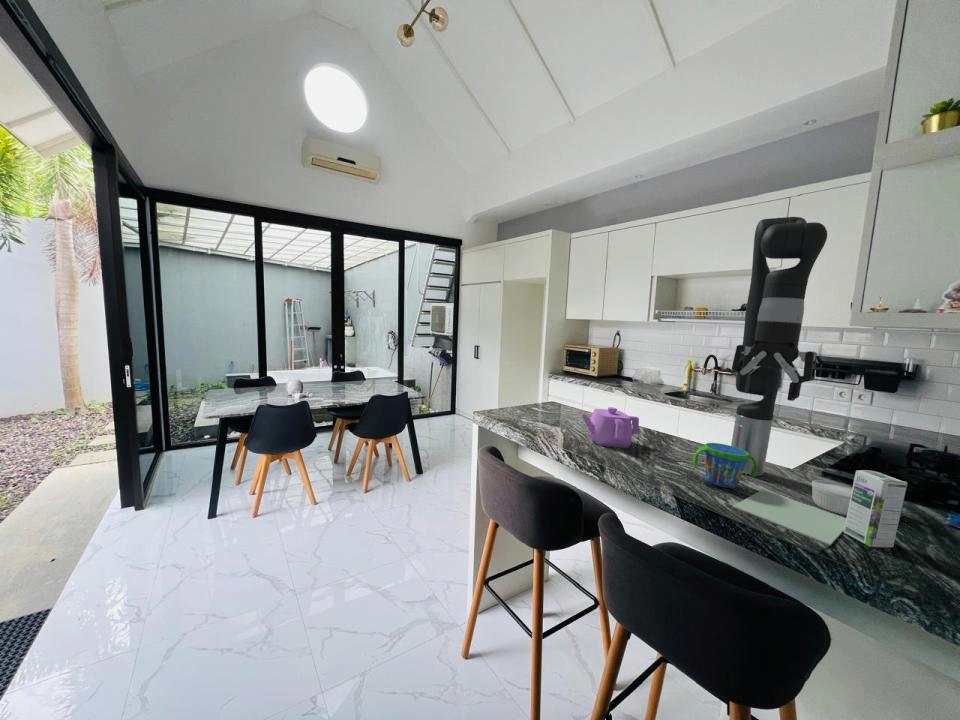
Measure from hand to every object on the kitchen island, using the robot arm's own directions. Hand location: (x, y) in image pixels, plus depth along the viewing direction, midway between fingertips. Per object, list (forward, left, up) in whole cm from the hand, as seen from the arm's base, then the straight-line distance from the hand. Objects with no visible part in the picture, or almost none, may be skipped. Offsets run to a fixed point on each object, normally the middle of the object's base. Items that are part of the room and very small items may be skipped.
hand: (766, 396), depth 84 cm
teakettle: (-22, -52, -29) cm, 64 cm away
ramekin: (-32, +9, -29) cm, 44 cm away
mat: (-15, +4, -29) cm, 33 cm away
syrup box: (-17, +17, -29) cm, 38 cm away
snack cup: (-19, -13, -29) cm, 37 cm away
